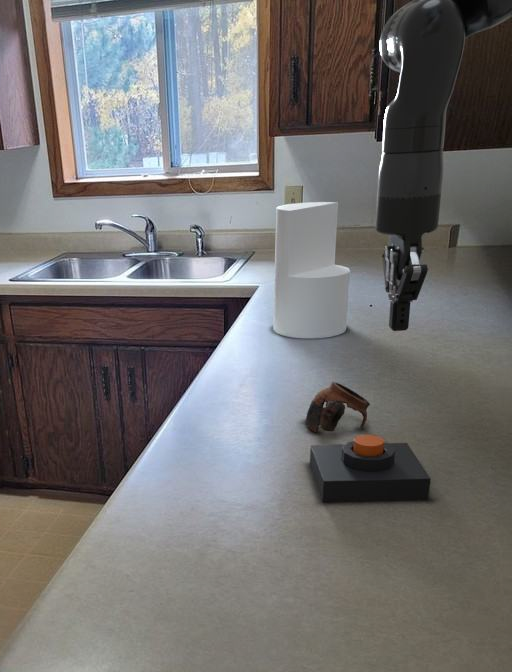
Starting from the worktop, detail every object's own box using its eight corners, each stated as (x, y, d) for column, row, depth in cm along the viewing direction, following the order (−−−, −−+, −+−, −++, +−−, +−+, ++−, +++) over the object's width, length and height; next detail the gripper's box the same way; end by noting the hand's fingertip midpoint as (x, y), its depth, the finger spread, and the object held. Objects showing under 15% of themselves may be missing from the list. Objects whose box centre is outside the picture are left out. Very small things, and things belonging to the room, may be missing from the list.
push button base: (404, 462, 110) (408, 431, 107) (428, 499, 99) (432, 466, 97) (309, 464, 110) (311, 433, 108) (322, 502, 100) (324, 469, 98)
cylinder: (258, 330, 180) (260, 208, 167) (303, 316, 190) (308, 200, 177) (315, 342, 168) (322, 212, 155) (360, 327, 178) (370, 203, 165)
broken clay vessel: (303, 416, 129) (329, 375, 126) (351, 445, 127) (377, 404, 125) (294, 425, 118) (321, 380, 115) (345, 456, 116) (375, 411, 113)
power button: (379, 445, 104) (380, 434, 104) (386, 457, 101) (387, 445, 100) (350, 446, 105) (351, 435, 104) (356, 458, 101) (357, 446, 100)
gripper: (458, 194, 85) (442, 341, 92) (424, 184, 97) (412, 315, 104) (392, 198, 85) (381, 344, 93) (366, 188, 97) (359, 318, 105)
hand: (398, 329), depth 99 cm, fingers closed
